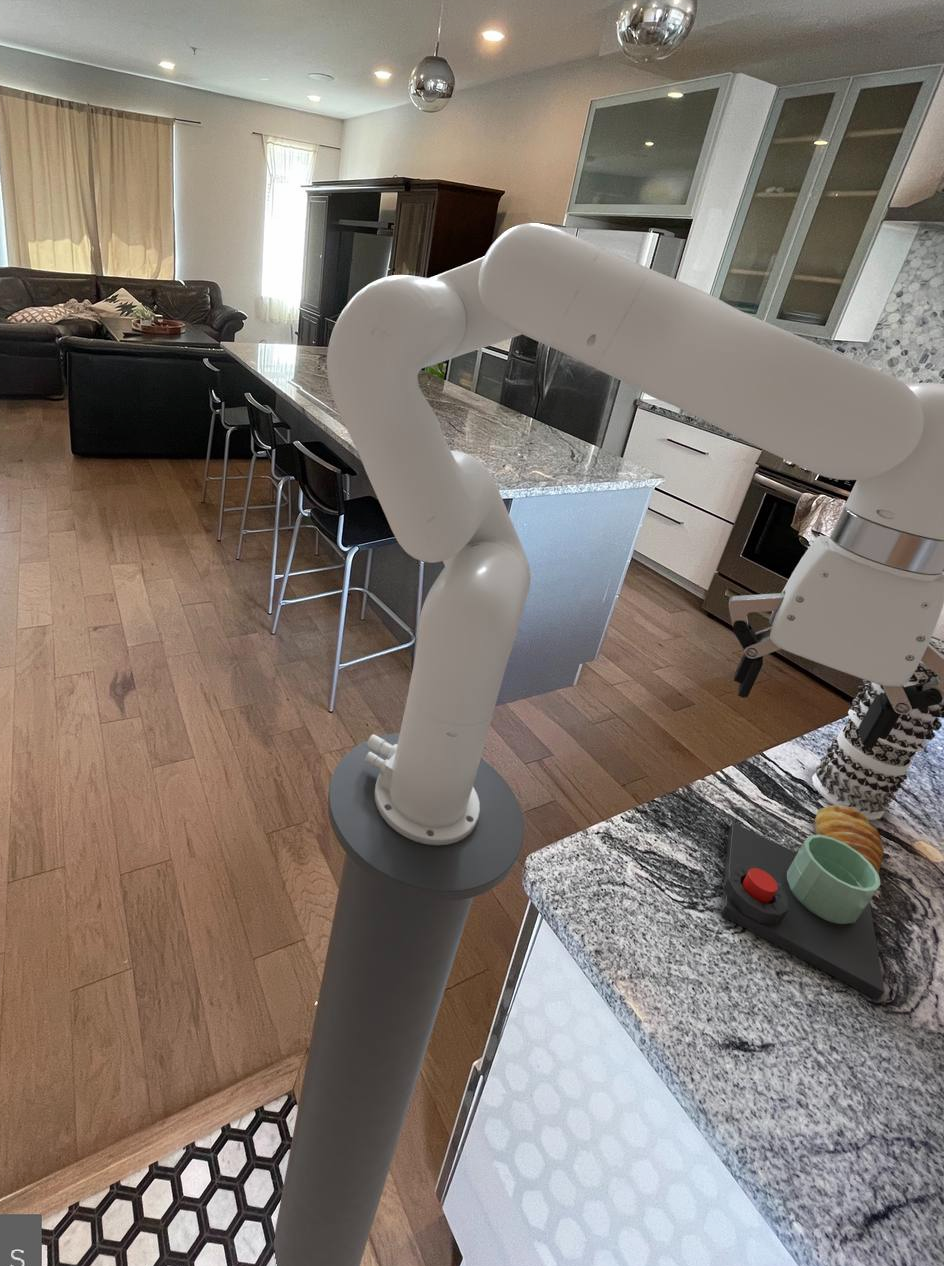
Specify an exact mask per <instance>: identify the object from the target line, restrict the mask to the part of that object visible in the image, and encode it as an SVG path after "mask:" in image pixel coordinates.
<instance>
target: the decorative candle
mask: <svg viewBox="0 0 944 1266" xmlns="http://www.w3.org/2000/svg"><path fill="white" fill-rule="evenodd" d="M929 644H931V645H932V646H933V647H934V648H935V649H936V650H938V651H939V652H940V653H941V654H942V655H943V656H944V640H942V639H940V638H938V637H935V636H932V637H931V639H930V642H929ZM937 676H938V675H937V674H935V673H934V672H933V671H932V670H931V669H930V668H929V667H927V666H926V665H925V664H924V663H923V662H922V661H920V663H919V665H918V667H917V669H916V670H915V672H914V674H913V675H912V677H911V678H910V679H909V681H908V682H907V683H906V684H904V685H903V686H904V687H907V686H911V685H916V684H920V683H925V682H930V681H932V679H934V678H936V677H937ZM861 681H862V683H861V685H858V687H857V691H858V692H857V694H856V695H855V698H853V699H852V700H851V704H852V706H851V707H849V710H848V711H847V713H848V717H849V718H848V719H847V722H846V724H845V726H843V728H842V729H840V731H839V733H838V735H836V736H835V737H834V738H832V739H831V745H830V746H828V747H827V748H826V751H827V752H826V754H825V755H823V756H822V757H821V758H820V764H818V765H817V766H816V768H815V771H816V772H815V773H814V774H813V775H812V776H811V780H812V785H813V786H814V788H815V789H816V790H817V792H818V793H819V795H821V796H822V797H823V798H824V799H825V800H827V801H828V802H829V803H830V804H831V805H832V806H833V805H837V806H846V807H850V808H853V809H855V810H857V811H859V812H860V813H862V814H863V815H865V816H866V817H867V818H868V820H870V821H874V820H880V819H881V818H882V817H883V815H884V813H885V812H887V808H889V807H890V803H892V802H893V800H892V799H896V795H895V794H894V793H898V791H899V789H901V788H902V784H903V783H904V782H905V780H907V779H908V774H907V771H908V769H909V768H910V767H911V765H912V763H913V761H912V760H913V759H914V757H915V755H916V754H917V752H922V751H924V750H925V747H926V746H927V740H928V741H931V740H933V739H934V738H936V733H935V732H934V731H939V730H940V729H941V728H942V726H943V723H942V722H941V721H940V718H943V719H944V699H943V700H942V702H941V703H940V704H937V705H932V706H928V707H923V708H918V709H913V710H912V711H911V712H910V713H909V714H906V715H902V714H901V715H900V717H899V718H898V720H897V722H896V724H895V725H894V727H893V729H892V730H891V732H890V734H889V735H888V737H887V738H886V739H885V740H884V739H881V738H879V739H878V740H877V742H876V744H875V746H874V747H873V749H870V748H867V747H865V746H864V744H862V742H861V738H860V733H859V725H860V723H861V722H862V720H863V718H864V716H865V715H866V713H867V711H868V709H869V708H870V706H871V704H872V702H873V700H874V699H875V697H876V695H877V694H878V695H880V693H881V692H882V693H885V690H884V688H883V686H882V685H880V684H877V683H873V682H870V681H868V680H865V679H862V678H861Z"/></svg>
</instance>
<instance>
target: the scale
mask: <svg viewBox="0 0 944 1266" xmlns="http://www.w3.org/2000/svg"><path fill="white" fill-rule="evenodd" d="M726 845H727V846H726V854H725V864H724V865H725V867H724V876H723V888H722V897H721V898H722V899H721V909H720V915H721V916H722V917H724V918H726V919H727V920H730V921H731V922H733V923H736V924H737V925H738V926H740V927H742V928H744V929H746V930H748V931H750V932H751V933H753V934H755V935H757V936H759V937H761V938H762V939H764V940H765V941H767V942H769V943H771V944H773V945H775V946H777V947H779V948H780V949H783V950H784V951H786V952H788V953H790V954H792V955H793V956H795V957H797V958H799V959H801V960H802V961H804V962H805V963H808V964H809V965H811V966H814V967H815V968H816V969H819V970H821V971H823V972H824V973H826V974H828V975H830V976H832V977H833V978H835V979H838V980H839V981H841V982H843V983H845V984H846V985H848V986H850V987H852V988H854V989H856V990H857V991H859V992H861V993H863V994H865V995H866V996H869V997H870V998H872V999H873V1000H876V1001H879V1000H880V999H881V997H882V996H883V995H884V994H885V988H884V987H885V986H884V982H883V975H882V968H881V963H880V957H879V951H878V945H877V938H876V932H875V927H874V920H873V915H872V914H873V913H872V908H871V903H870V901H871V900H870V901H869V903H868V904H867V906H866V907H865V909H864V910H863V912H862V913H861V915H860V916H859V918H858V919H857V920H856V922H854V923H849V924H837V923H833V922H830V921H827V920H825V919H823V918H821V917H819V916H817V915H816V914H814V913H812V912H811V911H810V910H808V909H807V908H806V907H805V906H804V905H803V904H802V903H801V902H800V901H799V900H798V899H797V898H796V897H795V895H794V894H793V893H792V891H791V889H790V887H789V883H788V881H787V871H788V869H789V867H790V865H791V864H792V862H793V860H794V859H795V857H796V855H797V853H798V852H796V851H794V850H792V849H789V848H788V847H786V846H783V845H781V844H780V843H777V842H776V841H773V840H771V839H769V838H767V837H765V836H763V835H761V834H758V833H757V832H754V831H752V830H750V829H748V828H746V827H744V826H742V825H739V824H738V823H736V822H732V823H731V825H730V826H729V829H728V834H727V844H726ZM752 868H757V869H761V870H763V871H765V872H766V873H768V874H769V875H770V876H772V877H773V878H774V880H775V881H776V883H777V885H778V890H777V892H776V893H775V895H774V897H773V898H772V900H771V902H769V903H762V902H760V901H758V900H756V899H754V898H752V897H751V896H750V895H749V894H748V893H747V892H746V891H745V890H744V888H743V881H744V879H745V877H746V875H747V873H748V871H749V870H750V869H752Z"/></svg>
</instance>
